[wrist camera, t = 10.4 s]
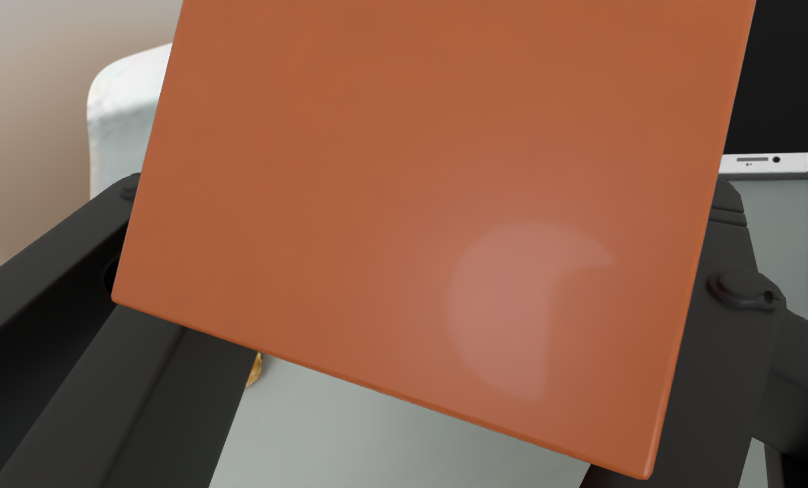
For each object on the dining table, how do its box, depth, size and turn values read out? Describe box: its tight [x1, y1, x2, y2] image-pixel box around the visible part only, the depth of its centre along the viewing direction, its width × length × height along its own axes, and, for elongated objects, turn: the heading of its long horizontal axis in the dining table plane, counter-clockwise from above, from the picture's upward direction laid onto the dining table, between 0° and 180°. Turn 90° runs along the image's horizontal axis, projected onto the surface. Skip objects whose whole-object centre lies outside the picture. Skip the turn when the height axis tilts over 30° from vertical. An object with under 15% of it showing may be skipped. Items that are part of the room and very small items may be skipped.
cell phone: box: [717, 0, 808, 180], centre depth 30 cm, size 8×15×1 cm, turn 177°
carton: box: [111, 0, 756, 480], centre depth 13 cm, size 6×5×16 cm
